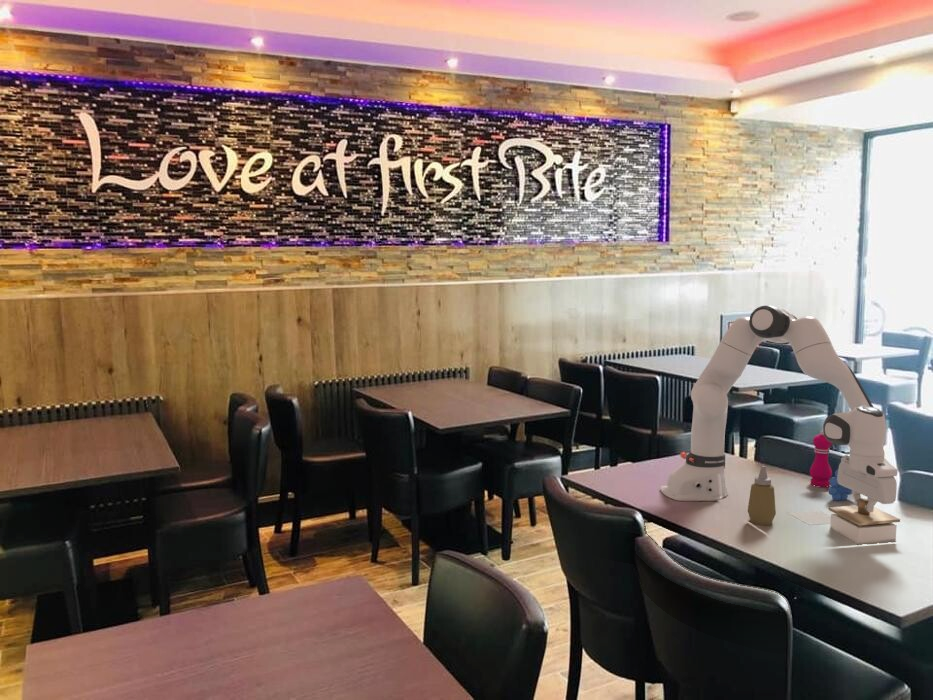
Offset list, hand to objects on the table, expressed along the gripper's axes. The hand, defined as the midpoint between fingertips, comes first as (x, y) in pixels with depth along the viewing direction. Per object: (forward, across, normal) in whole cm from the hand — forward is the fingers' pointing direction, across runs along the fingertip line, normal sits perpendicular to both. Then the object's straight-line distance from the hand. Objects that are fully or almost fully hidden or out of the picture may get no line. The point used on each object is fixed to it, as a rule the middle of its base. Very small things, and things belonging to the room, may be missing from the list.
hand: (863, 508), depth 211 cm
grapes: (+8, -30, +15) cm, 34 cm away
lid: (+2, 0, 0) cm, 2 cm away
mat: (+8, -15, -5) cm, 18 cm away
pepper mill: (+8, -46, +19) cm, 50 cm away
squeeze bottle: (+8, -15, -23) cm, 29 cm away
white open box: (+8, 0, 0) cm, 8 cm away
